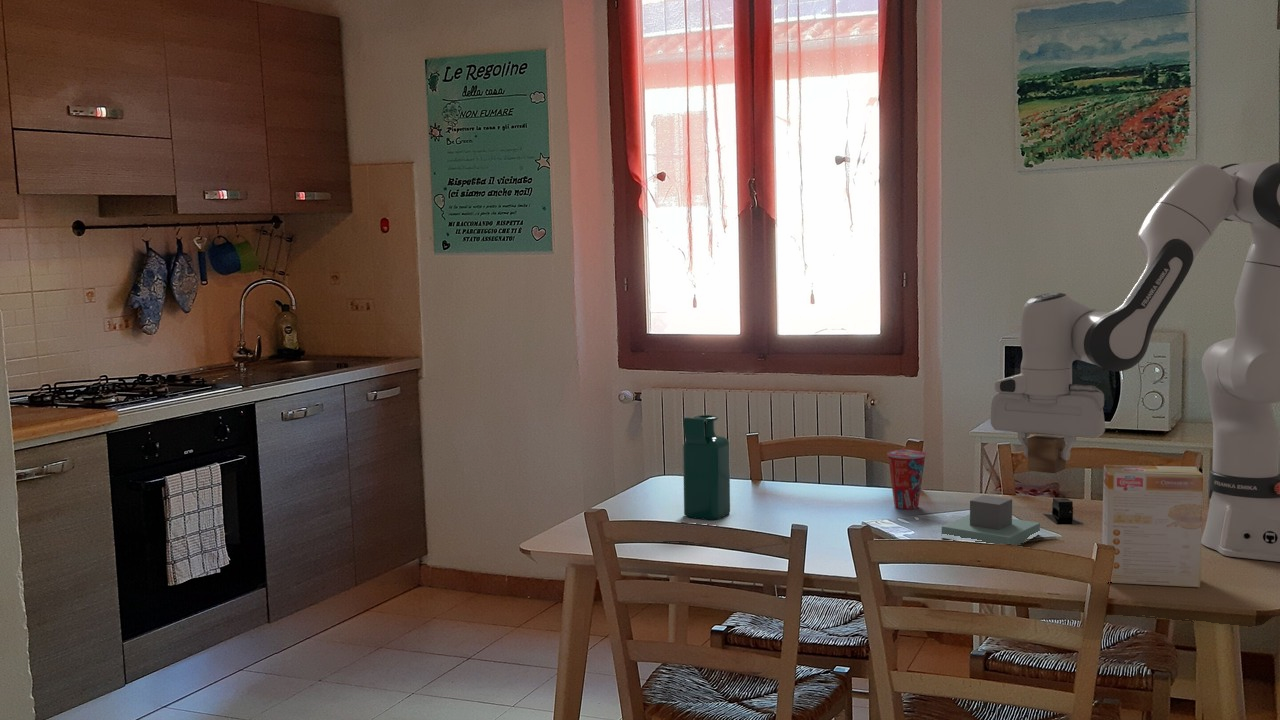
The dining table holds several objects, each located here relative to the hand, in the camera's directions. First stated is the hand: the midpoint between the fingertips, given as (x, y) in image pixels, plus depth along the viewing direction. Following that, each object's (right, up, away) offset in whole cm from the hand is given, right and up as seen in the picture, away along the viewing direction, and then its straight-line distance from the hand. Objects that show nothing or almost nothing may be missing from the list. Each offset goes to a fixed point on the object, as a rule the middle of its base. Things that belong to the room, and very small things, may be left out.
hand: (1046, 458), depth 212 cm
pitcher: (-60, -16, +40) cm, 74 cm away
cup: (-16, -15, +44) cm, 49 cm away
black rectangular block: (+14, -16, +31) cm, 37 cm away
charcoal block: (-5, -15, +17) cm, 23 cm away
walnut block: (0, -2, 0) cm, 2 cm away
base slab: (-5, -17, +17) cm, 25 cm away
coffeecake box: (+13, -20, -12) cm, 27 cm away
